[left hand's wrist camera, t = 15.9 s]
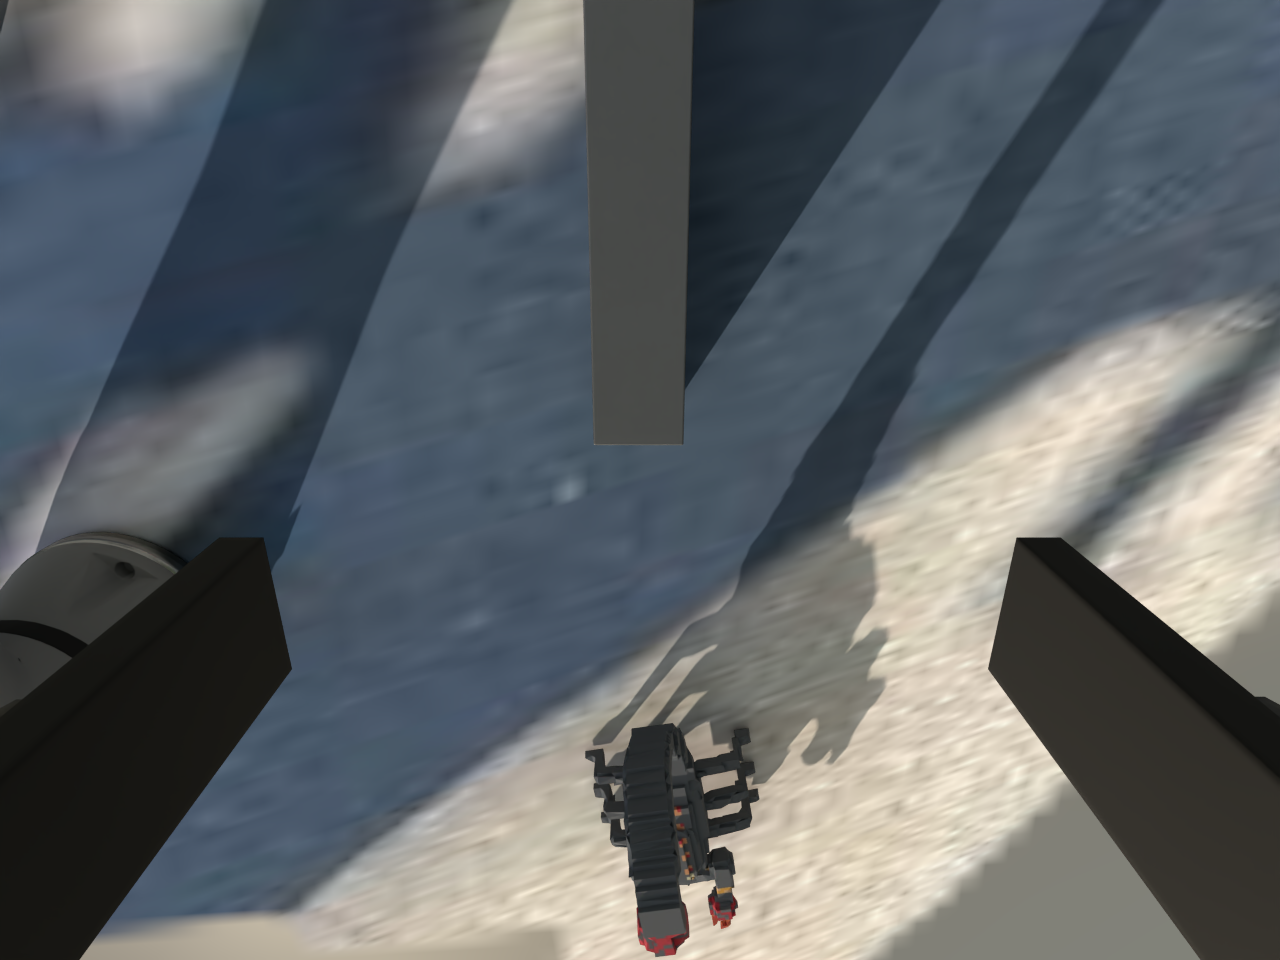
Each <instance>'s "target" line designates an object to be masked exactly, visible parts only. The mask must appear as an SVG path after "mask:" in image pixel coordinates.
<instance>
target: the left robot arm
mask: <svg viewBox="0 0 1280 960" xmlns="http://www.w3.org/2000/svg"><path fill="white" fill-rule="evenodd" d="M291 670H292V667H291V662H290V658H289V653H288V649H287V644H286V639H285V635H284V630H283V626H282V621H281V616H280V612H279V607H278V603H277V598H276V593H275V589H274V584H273V580H272V575H271V570H270V566H269V561H268V557H267V552H266V547H265V543H264V538H218V539H217V540H216V541H215V542H213V543H212V544H211V545H210V546H209V547H207V548H206V549H205V550H204V551H202V552H201V553H200V554H199V555H198V556H196V557H195V558H194V559H193V560H191V561H190V562H189V563H188V564H187V563H186V562H184V561H183V560H182V559H180V558H179V557H177V556H176V555H174V554H172V553H171V552H169V551H167V550H165V549H163V548H162V547H159V546H157V545H155V544H153V543H150V542H148V541H145V540H142V539H139V538H135V537H132V536H128V535H123V534H117V533H108V532H92V533H83V534H77V535H73V536H69V537H66V538H64V539H61V540H58V541H57V542H55V543H53V544H51V545H49V546H48V547H46V548H44V549H43V550H41V551H39V552H37V553H36V554H34V555H33V556H31V557H30V558H29V559H27V560H26V561H25V562H24V563H23V564H22V565H21V566H20V567H19V568H18V569H17V570H16V571H15V572H14V573H13V574H12V575H11V577H10V578H9V579H8V581H7V582H6V583H5V585H4V586H3V587H2V589H1V590H0V960H80V958H81V957H82V955H83V954H84V953H85V951H86V950H87V949H88V947H89V946H90V945H91V943H92V942H93V940H94V939H95V938H96V936H97V935H98V934H99V932H100V931H101V929H102V928H103V927H104V925H105V924H106V923H107V921H108V920H109V919H110V917H111V916H112V914H113V913H114V912H115V910H116V909H117V908H118V906H119V905H120V903H121V902H122V901H123V899H124V898H125V897H126V895H127V894H128V893H129V891H130V890H131V888H132V887H133V886H134V884H135V883H136V882H137V880H138V879H139V877H140V876H141V875H142V873H143V872H144V871H145V869H146V868H147V867H148V865H149V864H150V862H151V861H152V860H153V858H154V857H155V856H156V854H157V853H158V851H159V850H160V849H161V847H162V846H163V845H164V843H165V842H166V841H167V839H168V838H169V836H170V835H171V834H172V832H173V831H174V830H175V828H176V827H177V826H178V824H179V823H180V821H181V820H182V819H183V817H184V816H185V815H186V813H187V812H188V810H189V809H190V808H191V806H192V805H193V804H194V802H195V801H196V800H197V798H198V797H199V795H200V794H201V793H202V791H203V790H204V789H205V787H206V786H207V784H208V783H209V782H210V780H211V779H212V778H213V776H214V775H215V774H216V772H217V771H218V769H219V768H220V767H221V765H222V764H223V763H224V761H225V760H226V758H227V757H228V756H229V754H230V753H231V752H232V750H233V749H234V748H235V746H236V745H237V743H238V742H239V741H240V739H241V738H242V737H243V735H244V734H245V732H246V731H247V730H248V728H249V727H250V726H251V724H252V723H253V722H254V720H255V719H256V717H257V716H258V715H259V713H260V712H261V711H262V709H263V708H264V707H265V705H266V704H267V702H268V701H269V700H270V698H271V697H272V696H273V694H274V693H275V691H276V690H277V689H278V687H279V686H280V685H281V683H282V682H283V681H284V679H285V678H286V676H287V675H288V674H289V672H290V671H291ZM988 670H989V671H990V672H991V674H992V675H993V676H994V678H995V679H996V681H997V682H998V683H999V685H1000V686H1001V687H1002V689H1003V690H1004V691H1005V693H1006V694H1007V696H1008V697H1009V698H1010V700H1011V701H1012V702H1013V704H1014V705H1015V707H1016V708H1017V709H1018V711H1019V712H1020V713H1021V715H1022V716H1023V717H1024V719H1025V720H1026V722H1027V723H1028V724H1029V726H1030V727H1031V728H1032V730H1033V731H1034V732H1035V734H1036V735H1037V737H1038V738H1039V739H1040V741H1041V742H1042V743H1043V745H1044V746H1045V748H1046V749H1047V750H1048V752H1049V753H1050V754H1051V756H1052V757H1053V758H1054V760H1055V761H1056V763H1057V764H1058V765H1059V767H1060V768H1061V769H1062V771H1063V772H1064V774H1065V775H1066V776H1067V778H1068V779H1069V780H1070V782H1071V783H1072V784H1073V786H1074V787H1075V789H1076V790H1077V791H1078V793H1079V794H1080V795H1081V797H1082V798H1083V800H1084V801H1085V802H1086V804H1087V805H1088V806H1089V808H1090V809H1091V810H1092V812H1093V813H1094V815H1095V816H1096V817H1097V819H1098V820H1099V821H1100V823H1101V824H1102V826H1103V827H1104V828H1105V830H1106V831H1107V832H1108V834H1109V835H1110V836H1111V838H1112V839H1113V841H1114V842H1115V843H1116V845H1117V846H1118V847H1119V849H1120V850H1121V851H1122V853H1123V854H1124V856H1125V857H1126V858H1127V860H1128V861H1129V862H1130V864H1131V865H1132V867H1133V868H1134V869H1135V871H1136V872H1137V873H1138V875H1139V876H1140V877H1141V879H1142V880H1143V881H1144V883H1145V884H1146V886H1147V887H1148V888H1149V890H1150V891H1151V892H1152V894H1153V895H1154V897H1155V898H1156V899H1157V901H1158V902H1159V903H1160V905H1161V906H1162V908H1163V909H1164V910H1165V912H1166V913H1167V914H1168V916H1169V917H1170V919H1171V920H1172V921H1173V923H1174V924H1175V925H1176V927H1177V928H1178V929H1179V931H1180V932H1181V934H1182V935H1183V936H1184V938H1185V939H1186V940H1187V942H1188V943H1189V944H1190V946H1191V947H1192V949H1193V950H1194V951H1195V953H1196V954H1197V955H1198V957H1199V958H1200V960H1280V705H1279V704H1277V703H1275V702H1273V701H1272V700H1270V699H1268V698H1266V697H1254V696H1253V695H1252V694H1251V693H1250V692H1248V691H1247V690H1246V689H1245V688H1243V687H1242V686H1241V685H1240V684H1239V683H1237V682H1236V681H1235V680H1234V679H1232V678H1231V677H1230V676H1229V675H1228V674H1226V673H1225V672H1224V671H1223V670H1222V669H1220V668H1219V667H1218V666H1217V665H1215V664H1214V663H1213V662H1212V661H1211V660H1209V659H1208V658H1207V657H1206V656H1204V655H1203V654H1202V653H1201V652H1200V651H1198V650H1197V649H1196V648H1195V647H1193V646H1192V645H1191V644H1190V643H1189V642H1187V641H1186V640H1185V639H1184V638H1182V637H1181V636H1180V635H1179V634H1178V633H1176V632H1175V631H1174V630H1173V629H1171V628H1170V627H1169V626H1168V625H1167V624H1165V623H1164V622H1163V621H1162V620H1161V619H1159V618H1158V617H1157V616H1156V615H1154V614H1153V613H1152V612H1151V611H1150V610H1148V609H1147V608H1146V607H1145V606H1143V605H1142V604H1141V603H1140V602H1139V601H1137V600H1136V599H1135V598H1134V597H1132V596H1131V595H1130V594H1129V593H1128V592H1126V591H1125V590H1124V589H1123V588H1121V587H1120V586H1119V585H1118V584H1117V583H1115V582H1114V581H1113V580H1112V579H1110V578H1109V577H1108V576H1107V575H1106V574H1104V573H1103V572H1102V571H1101V570H1100V569H1098V568H1097V567H1096V566H1095V565H1093V564H1092V563H1091V562H1090V561H1089V560H1087V559H1086V558H1085V557H1084V556H1082V555H1081V554H1080V553H1079V552H1078V551H1076V550H1075V549H1074V548H1073V547H1071V546H1070V545H1069V544H1068V543H1067V542H1065V541H1064V540H1063V539H1062V538H1016V543H1015V547H1014V552H1013V557H1012V561H1011V566H1010V570H1009V575H1008V580H1007V584H1006V589H1005V593H1004V598H1003V603H1002V607H1001V612H1000V616H999V621H998V626H997V630H996V635H995V639H994V644H993V649H992V653H991V658H990V662H989V667H988Z"/></svg>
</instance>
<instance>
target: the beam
mask: <svg viewBox="0 0 1280 960" xmlns="http://www.w3.org/2000/svg"><path fill="white" fill-rule="evenodd" d="M583 8H584V50H585V92H586V135H587V177H588V219H589V262H590V304H591V347H592V389H593V431H594V445H683V435H684V396H685V356H686V316H687V277H688V237H689V198H690V158H691V119H692V79H693V40H694V0H583Z"/></svg>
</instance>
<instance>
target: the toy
mask: <svg viewBox="0 0 1280 960" xmlns="http://www.w3.org/2000/svg"><path fill="white" fill-rule="evenodd" d="M734 733H735V737H733V738H732V743H733V749H734V751H730V753H725V754H721V755H718V756H717V757H713V758H706V759H699V760H696V761H695V762H694V760H693V757H692V755H691V753H690V752H689V750H688V748H687V746H686V743H685V739H684V737H683V734H682V732H681V730H680V728H678V729H677V728H676V727H675V725H674V724H673V723H670V724H663V725H655V726H648V727H640V728H633V729H632V736H631V739H630V742H629V746H628V748H627V752H626V755H625V760H624V765H623V766H610V767H606V766H605V757H604V751H603V749H597V750H590V751H585V758H586V759H588V760H590V761H592V762H595V768H594V778H595V781H596V783H595V784H594V793H595V797H600V798H604V805H603V808H604V812H601V820H602V823H610V824H611V831H610V840H611V843H612V845H614V846H615V847H627V848H628V862H629V877H631V878H632V880H633V881H634V884H635V893H636V898H637V906H638V907H637V927H638V938H639V942H640V945H644V946H645V947H646V950H647V951H650V952H654V953H655V957H659V956H668V955H676V950H677V948H678V947H679V946H680V945H681V944H683V943H684V940H686V939H687V938H688V937H689V922H688V913H687V909H686V905H685V904H684V903H683V902H682V900H681V894H680V887H679V885H688V886H689V885H690V884H692V883H697V882H702V881H710V880H715V882H716V886H715V887H713V888H714V890H712V893H711V894H710V895H708V902H709V909H710V914H711V915H712V920H713V925H716V924H717V922H718V921H721V920H723V921H721V929H723V928H726V927H728V926H729V925H730V924H731V919H733V918H732V917H733V916H735V915H736V914H735V909H736V908H738V903H737V900H736V899H735V897H734V896H733V894H732V888H734V880H733V875H734V874H736V873H735V866H734V859H733V854H732V852H730V851H728V850H727V849H726V847H721V848H717V849H712V851H711V852H709V843H708V838H713V837H718V836H720V835H724V834H728V833H732V832H736V831H739V830H743V829H746V828H748V827H750V823H751V820H752V814H751V808H750V803H752V802H756V801H758V800H759V795H758V788H757V789H753V790H748V788H747V783H746V777H745V776H748V775H751V774H753V773H755V768H754V762H748V763H741V764H740V761H743V757H742V751H741V746H742V745H745V744H748V743H750V742H751V741H750V735H749V729H748V728H747V729H740V730H734ZM735 769H737V774H738V780H737V781H735V785H731V786H727V787H723V788H719V789H715V790H711V791H709V792H707V793H705V794H704V792H703V787H702V782H701V777H703V776H707V775H712V774H717V773H723V772H727V771H731V770H735ZM610 783H614V785H620V784H623V794H624V801H619V802H615V795H613V794H612V790H611V786H610ZM740 801H741V803H742V808H741V810H740V811H739V812H738V813H734V814H729V815H725V816H723V817H717V818H713V819H708V814H707V810H713V809H720V808H722V807H724V806H726V805H728V804H731V803H737V802H740ZM622 818H624V825H625V830H622V829H621V826H620V819H622ZM707 853H709V854H707Z"/></svg>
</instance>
